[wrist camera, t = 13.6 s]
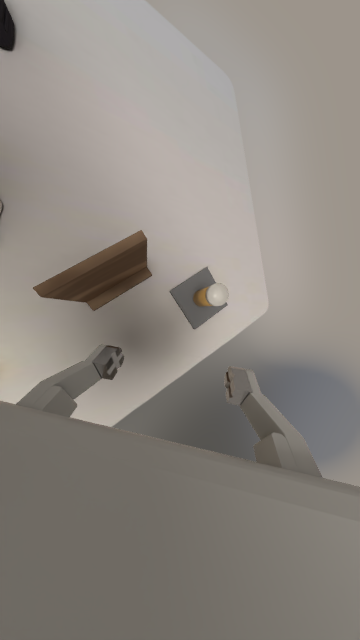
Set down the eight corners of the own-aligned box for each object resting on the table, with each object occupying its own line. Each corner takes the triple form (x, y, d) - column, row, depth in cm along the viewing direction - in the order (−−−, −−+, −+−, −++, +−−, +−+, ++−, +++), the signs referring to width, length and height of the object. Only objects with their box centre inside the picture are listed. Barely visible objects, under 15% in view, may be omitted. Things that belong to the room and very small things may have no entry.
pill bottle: (189, 295, 30) (203, 290, 23) (203, 286, 31) (221, 278, 23) (198, 310, 31) (215, 310, 24) (211, 300, 32) (231, 298, 24)
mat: (169, 291, 30) (170, 290, 29) (205, 267, 32) (207, 266, 31) (193, 329, 32) (194, 329, 32) (226, 305, 34) (227, 304, 33)
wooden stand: (77, 289, 25) (18, 272, 14) (138, 255, 27) (132, 215, 16) (94, 310, 26) (53, 311, 15) (151, 275, 29) (155, 252, 17)
